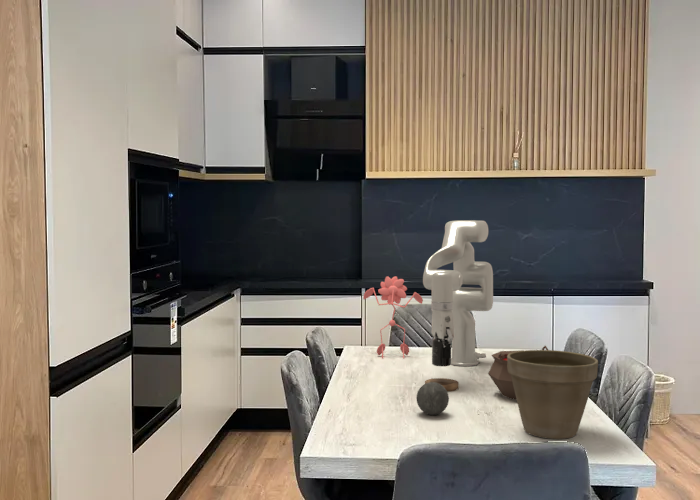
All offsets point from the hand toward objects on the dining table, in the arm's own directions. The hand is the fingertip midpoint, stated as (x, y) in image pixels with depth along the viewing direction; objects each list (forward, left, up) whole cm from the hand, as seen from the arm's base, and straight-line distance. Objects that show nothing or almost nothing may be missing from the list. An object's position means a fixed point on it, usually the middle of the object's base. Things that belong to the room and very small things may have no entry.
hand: (441, 355), depth 261 cm
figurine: (-4, -61, -12) cm, 62 cm away
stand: (0, 0, -12) cm, 12 cm away
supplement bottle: (0, 0, -3) cm, 3 cm away
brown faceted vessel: (-22, +19, -12) cm, 31 cm away
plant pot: (-8, +58, -12) cm, 60 cm away
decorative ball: (+17, +31, -12) cm, 37 cm away
